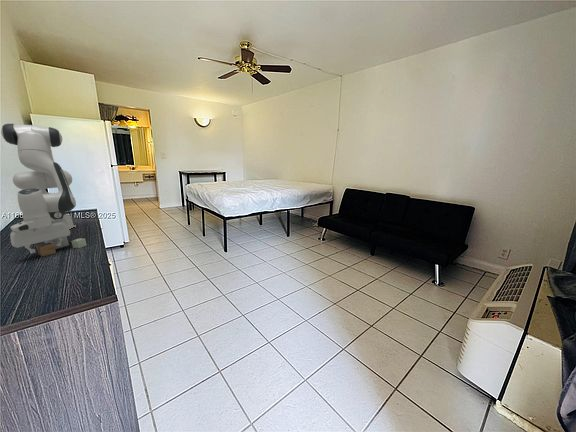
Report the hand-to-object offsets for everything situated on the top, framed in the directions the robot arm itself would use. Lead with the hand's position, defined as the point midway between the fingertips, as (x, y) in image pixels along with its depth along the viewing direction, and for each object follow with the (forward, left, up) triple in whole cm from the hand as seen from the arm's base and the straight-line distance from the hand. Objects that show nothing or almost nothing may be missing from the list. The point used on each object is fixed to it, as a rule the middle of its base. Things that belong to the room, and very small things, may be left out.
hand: (46, 249), depth 115 cm
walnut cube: (0, 0, -2) cm, 2 cm away
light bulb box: (-10, +7, -3) cm, 13 cm away
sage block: (+3, +12, -2) cm, 12 cm away
